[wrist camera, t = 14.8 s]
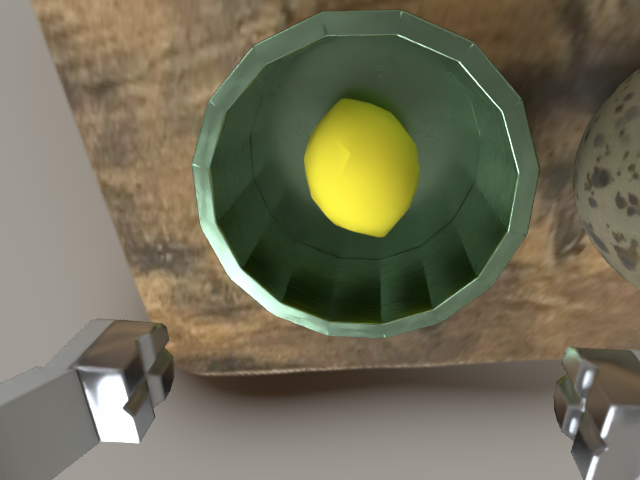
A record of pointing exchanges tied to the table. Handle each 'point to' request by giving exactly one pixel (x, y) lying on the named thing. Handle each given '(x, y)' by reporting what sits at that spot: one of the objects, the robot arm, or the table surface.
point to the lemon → (361, 167)
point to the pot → (429, 199)
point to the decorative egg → (612, 180)
